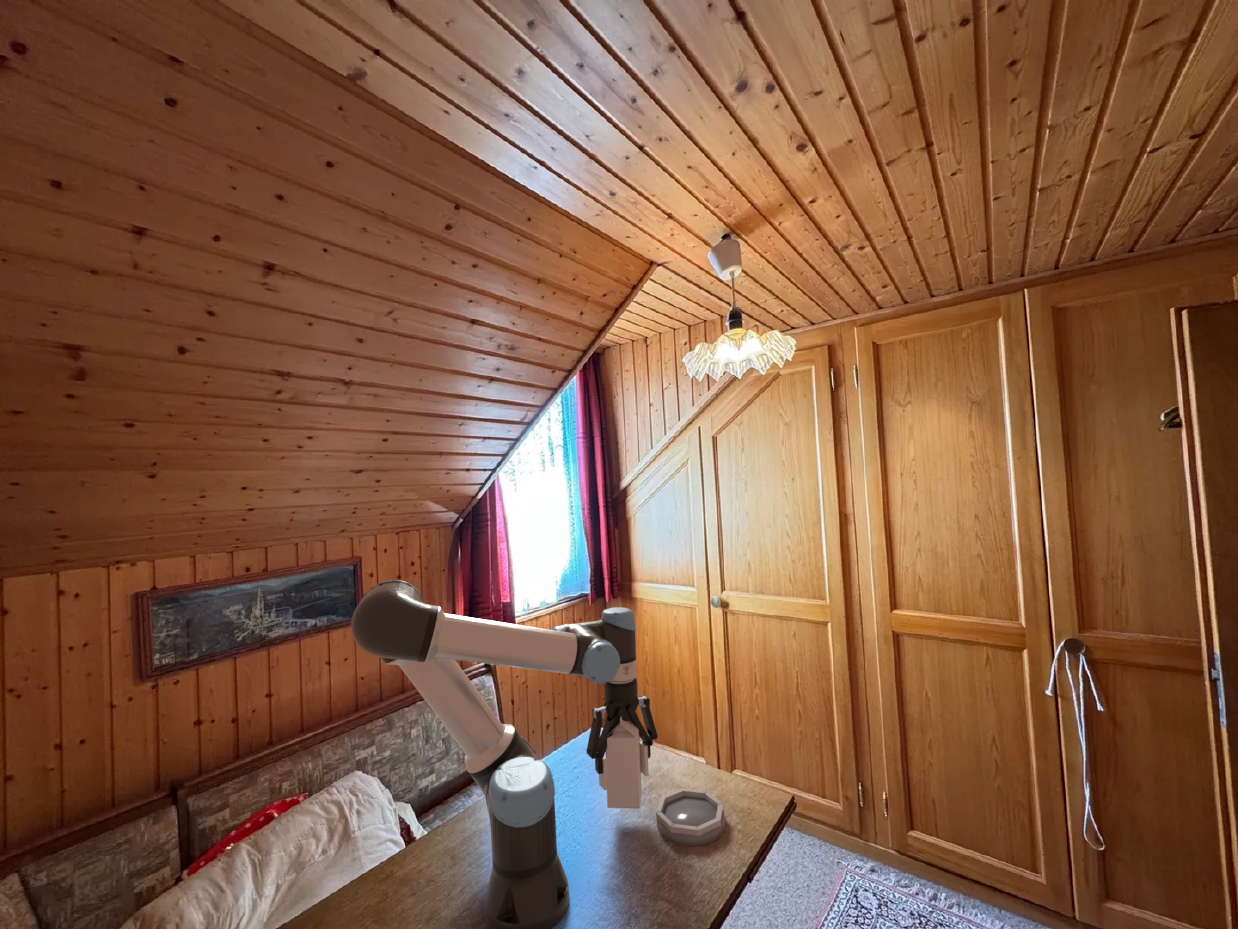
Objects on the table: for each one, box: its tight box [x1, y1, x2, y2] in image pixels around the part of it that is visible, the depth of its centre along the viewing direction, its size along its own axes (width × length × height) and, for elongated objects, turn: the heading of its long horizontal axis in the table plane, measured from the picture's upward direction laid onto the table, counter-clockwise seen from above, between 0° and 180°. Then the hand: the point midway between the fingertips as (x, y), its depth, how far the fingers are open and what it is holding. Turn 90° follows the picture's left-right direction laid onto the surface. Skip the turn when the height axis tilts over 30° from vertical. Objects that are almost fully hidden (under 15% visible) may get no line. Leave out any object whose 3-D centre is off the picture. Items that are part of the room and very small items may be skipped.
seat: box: [655, 787, 726, 847], centre depth 113 cm, size 15×15×3 cm
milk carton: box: [605, 716, 642, 809], centre depth 115 cm, size 7×7×19 cm
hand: (624, 780), depth 115 cm, fingers closed on milk carton, 10 cm apart
